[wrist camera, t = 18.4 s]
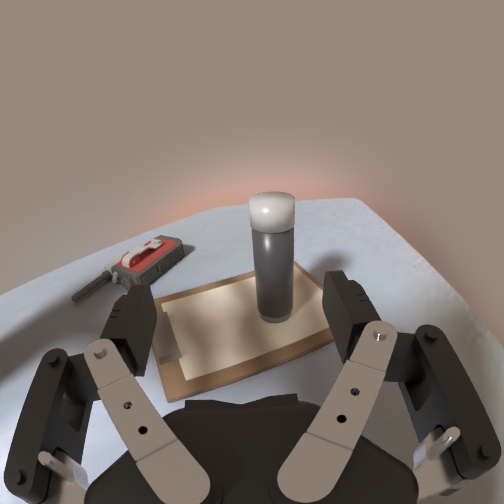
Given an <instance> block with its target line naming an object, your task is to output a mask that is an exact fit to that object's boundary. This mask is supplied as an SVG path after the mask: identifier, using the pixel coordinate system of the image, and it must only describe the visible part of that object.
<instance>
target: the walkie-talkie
mask: <svg viewBox="0 0 504 504" xmlns="http://www.w3.org/2000/svg"><path fill="white" fill-rule="evenodd" d="M183 257H184V250H183V245H182V240H180V239H178V238H173V237H168V236H162V235H160V236H158V237H156V238H154V239H151V241H149V242H148V243H146V244H145V245H138V246H136V247H135V248H133V249H132V250H131V252H127V253H126V254H124V255H122V256H120V257H119V258H117V259H116V260H114V261H113V262H111V263H110V264H107V265H106V266H104V268H105V272H103V273H102V274H101V276H99V277H98V278H96V279H95V280H94V281H92V282H91V283H89V284H88V285H87V286H85V287H84V288H83V289H81V290H80V291H79V292H77V293H76V294H74V295H73V296H72V301H73V302H77V301H78V300H79V299H81V298H82V297H83V296H85V295H86V294H87V293H89V292H90V291H91V290H93V289H94V288H95V287H97V286H98V285H99V284H101V283H102V282H103V281H106V280H108V279H109V278H112V282H113V283H114V284H115V283H120V284H123V285H124V286H125V288H126V289H128V290H129V289H130V287H131V285H132V284H145V283H148V284H151V283H152V282H153V281H154V280H156V279H157V278H158V277H159V276H161V275H162V273H164V272H165V271H166V270H168V269H169V268H171V266H173V265H174V264H175V263H177V261H179V260H181V258H183Z"/></svg>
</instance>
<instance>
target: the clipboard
mask: <svg viewBox="0 0 504 504" xmlns="http://www.w3.org/2000/svg"><path fill="white" fill-rule="evenodd" d="M322 295H323V286H322V285H321V284H320V283H319V282H318V281H316V280H315V279H314V278H313V277H312V276H311V275H310V274H308V273H307V272H306V271H305V270H304V269H303V268H302V267H300V266H299V265H298V264H297V263H296V262H295V261H294V280H293V309H292V311H291V316H290V317H289V319H287V320H286V321H284V322H281V323H268V322H266V321H264V320H263V319H262V318H261V317H260V314H259V311H258V309H257V296H256V282H255V271H252V272H248V273H245V274H242V275H238V276H235V277H231V278H228V279H224V280H221V281H217V282H214V283H210V284H207V285H203V286H200V287H196V288H193V289H189V290H186V291H182V292H179V293H175V294H171V295H168V296H164V297H161V298H157V299H153V300H154V303H155V307H156V310H157V324H156V328H155V332H154V335H153V340H152V346H153V350H154V354H155V358H156V362H157V366H158V370H159V374H160V377H161V381H162V385H163V388H164V392H165V395H166V398H167V401H168V403H170V402H174V401H177V400H181V399H184V398H188V397H191V396H194V395H197V394H201V393H204V392H207V391H210V390H213V389H216V388H219V387H222V386H225V385H228V384H230V383H233V382H236V381H239V380H242V379H244V378H247V377H250V376H252V375H255V374H258V373H260V372H263V371H266V370H268V369H271V368H273V367H276V366H278V365H281V364H283V363H285V362H288V361H290V360H293V359H295V358H297V357H300V356H302V355H304V354H306V353H309V352H311V351H313V350H315V349H318V348H320V347H322V346H324V345H326V344H329V343H331V342H333V341H334V338H333V335H332V333H331V330H330V327H329V325H328V322H327V319H326V317H325V314H324V311H323V307H322Z"/></svg>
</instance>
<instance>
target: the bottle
mask: <svg viewBox="0 0 504 504" xmlns="http://www.w3.org/2000/svg"><path fill="white" fill-rule="evenodd" d="M249 213H250V226H251V228H252V240H253V254H254V268H255V282H256V296H257V309H258V311H259V314H260V317H261V318H262V319H263V320H264V321H266V322H268V323H281V322H284V321H286V320H287V319H289V317H290V316H291V311H292V309H293V280H294V225H295V199H294V196H292V195H291V194H288V193H284V192H263V193H259V194H255V195H253V196H251V197H250V198H249Z"/></svg>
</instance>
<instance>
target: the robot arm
mask: <svg viewBox="0 0 504 504" xmlns="http://www.w3.org/2000/svg"><path fill="white" fill-rule="evenodd" d="M322 307H323V311H324V314H325V317H326V319H327V322H328V325H329V327H330V330H331V333H332V335H333V338H334V341H335V344H336V346H337V349H338V352H339V355H340V357H341V360H342V363H343V364H345V365H344V367H343V369H342V370H341V372H340V374H339V376H338V378H337V380H336V382H335V384H334V385H333V387H332V389H331V391H330V393H329V394H328V396H327V398H326V400H325V401H324V403H323V405H322V407H320V406H318V405H315V404H312V403H309V402H304V401H298V397H297V393H295V394H287V395H278V396H269V397H266V398H262V399H259V400H256V401H252V402H249V403H245V404H233V403H227V402H221V401H216V400H185V408H181V409H178V410H175V411H173V412H171V413H169V414H167V415H165V416H164V417H161V416H160V414H159V413H158V412H157V410H156V409H155V407H154V406H153V404H152V403H151V402H150V400H149V399H148V397H147V396H146V394H145V393H144V391H143V390H142V388H141V387H140V385H139V383H138V382H137V380H136V379H135V376H144V374H145V369H146V365H147V360H148V356H149V352H150V348H151V344H152V340H153V335H154V332H155V328H156V324H157V310H156V307H155V303H154V300H153V296H152V293H151V289H150V286H149V284H148V283H145V284H132V285H131V287H130V289H129V292H128V294H127V295H122V296H121V297H120V298H119V299H118V300H117V301H116V302H115V305H114V307H113V309H112V312H111V314H110V316H109V318H108V320H107V323H106V325H105V328H104V330H103V332H102V335H101V337H100V339H98V340H96V341H93V342H92V343H90V344H89V345H88V346H87V348H86V349H85V352H84V353H82V354H78V355H73V356H68V355H67V353H66V352H65V351H64V350H63V349H59V348H57V349H52V350H50V351H48V352H47V353H46V354H45V355H44V356H43V357H42V359H41V362H40V364H39V366H38V369H37V371H36V374H35V376H34V379H33V381H32V384H31V386H30V389H29V391H28V394H27V397H26V400H25V402H24V405H23V408H22V411H21V414H20V417H19V420H18V423H17V426H16V430H15V433H14V436H13V440H12V443H11V447H10V451H9V454H8V458H7V462H6V467H5V471H4V483H5V485H6V487H7V489H8V490H9V491H10V492H11V493H12V494H13V495H15V496H17V497H19V498H21V499H22V500H24V501H25V502H27V503H28V504H417V502H419V501H422V500H425V499H427V498H430V497H432V496H435V495H437V494H439V495H442V496H447V495H450V494H452V493H454V492H456V491H458V490H459V489H461V488H463V487H464V486H466V485H467V484H469V483H471V482H472V481H474V480H475V479H477V478H478V477H480V476H481V475H483V474H484V473H486V472H487V471H488V470H490V469H491V468H493V467H494V466H495V465H496V464H497V463H498V461H499V459H500V456H501V445H500V442H499V440H498V438H497V435H496V433H495V431H494V428H493V426H492V424H491V421H490V419H489V417H488V415H487V413H486V411H485V408H484V406H483V404H482V402H481V400H480V398H479V396H478V394H477V392H476V390H475V388H474V386H473V384H472V382H471V380H470V378H469V377H468V375H467V373H466V371H465V369H464V367H463V365H462V364H461V362H460V360H459V358H458V357H457V355H456V353H455V351H454V350H453V348H452V346H451V344H450V343H449V341H448V339H447V338H446V336H445V334H444V333H443V331H442V330H440V329H439V328H438V327H436V326H433V325H422V326H420V327H419V328H418V329H417V330H416V333H415V334H409V333H399V332H397V331H396V329H395V328H394V327H393V326H392V325H391V324H389V323H387V322H384V321H382V320H381V319H380V317H379V315H378V313H377V312H376V310H375V308H374V306H373V305H372V303H371V301H369V298H368V296H367V295H366V293H365V291H364V289H363V287H362V286H361V285H360V284H358V283H357V282H356V281H354V280H348V279H347V277H346V275H345V274H344V272H343V271H342V270H338V271H327V272H326V273H325V278H324V287H323V295H322ZM383 381H389V382H398V384H399V387H400V389H401V392H402V395H403V397H404V400H405V403H406V405H407V408H408V411H409V414H410V417H411V420H412V422H413V425H414V428H415V431H416V434H417V437H418V440H419V445H418V446H417V447H416V449H415V451H414V454H413V461H414V466H413V470H411V469H410V468H409V467H408V466H407V465H406V464H404V463H403V462H401V461H400V460H398V459H396V458H395V457H393V456H392V455H390V454H389V453H387V452H386V451H384V450H383V449H381V448H380V447H378V446H377V445H375V444H374V443H372V442H371V441H369V440H368V439H366V438H365V437H364V436H362V435H361V433H362V430H363V428H364V426H365V424H366V422H367V419H368V417H369V415H370V412H371V410H372V408H373V405H374V403H375V400H376V398H377V395H378V393H379V390H380V388H381V385H382V382H383ZM97 400H102V402H103V404H104V406H105V408H106V410H107V412H108V414H109V416H110V418H111V420H112V422H113V424H114V425H115V427H116V429H117V431H118V433H119V435H120V436H121V438H122V440H123V442H124V443H125V445H126V447H127V448H128V450H127V451H126V452H125V453H124V454H123V455H122V456H121V457H120V458H119V459H118V460H116V461H115V462H114V463H113V464H112V465H111V466H110V467H109V468H108V469H107V470H105V471H104V472H103V473H102V474H101V475H100V476H99V477H98V478H97V479H95V480H94V481H93V482H92V483H91V484H90V486H89V484H88V479H87V473H86V471H85V469H84V468H83V467H82V466H81V461H82V455H83V449H84V443H85V438H86V433H87V428H88V423H89V418H90V413H91V409H92V404H93V401H97Z"/></svg>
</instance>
